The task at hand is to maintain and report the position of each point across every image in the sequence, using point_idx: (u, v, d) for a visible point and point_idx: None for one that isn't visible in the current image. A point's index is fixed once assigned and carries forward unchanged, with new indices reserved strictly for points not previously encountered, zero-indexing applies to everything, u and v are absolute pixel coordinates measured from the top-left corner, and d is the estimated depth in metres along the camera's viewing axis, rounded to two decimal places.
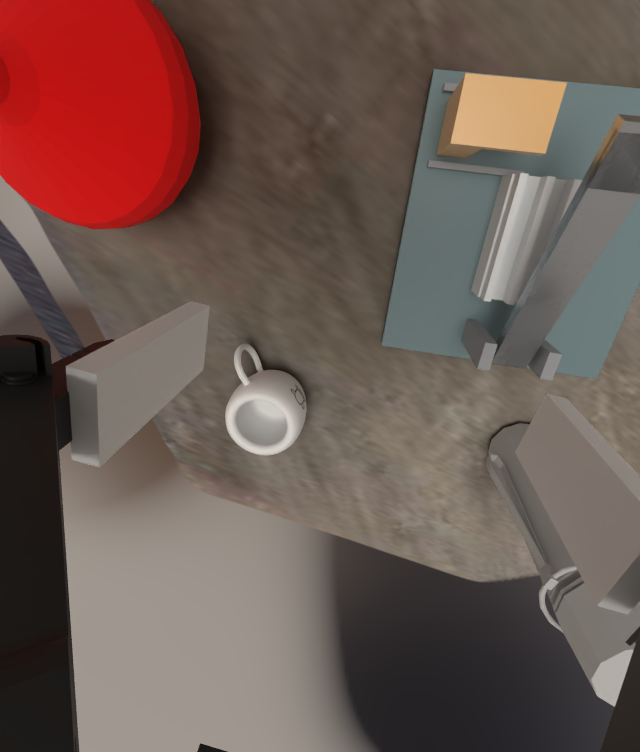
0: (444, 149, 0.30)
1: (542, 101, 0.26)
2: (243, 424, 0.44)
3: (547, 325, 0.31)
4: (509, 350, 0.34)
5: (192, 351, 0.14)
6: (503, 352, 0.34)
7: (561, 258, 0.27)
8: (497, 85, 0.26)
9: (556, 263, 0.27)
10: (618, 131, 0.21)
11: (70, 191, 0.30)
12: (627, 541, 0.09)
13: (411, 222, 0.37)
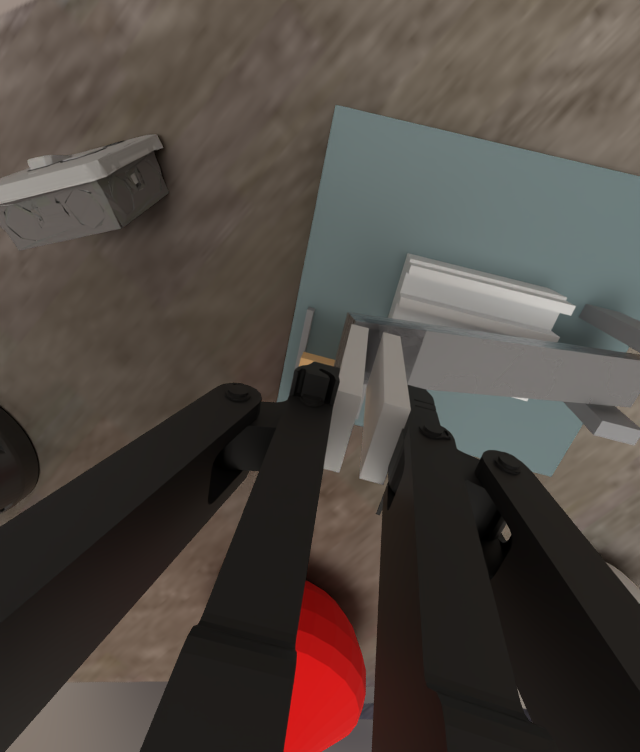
0: None
1: None
2: None
3: (590, 361, 0.21)
4: (616, 392, 0.23)
5: None
6: (617, 398, 0.23)
7: (490, 381, 0.20)
8: None
9: (495, 384, 0.20)
10: None
11: (331, 735, 0.35)
12: (375, 422, 0.12)
13: None
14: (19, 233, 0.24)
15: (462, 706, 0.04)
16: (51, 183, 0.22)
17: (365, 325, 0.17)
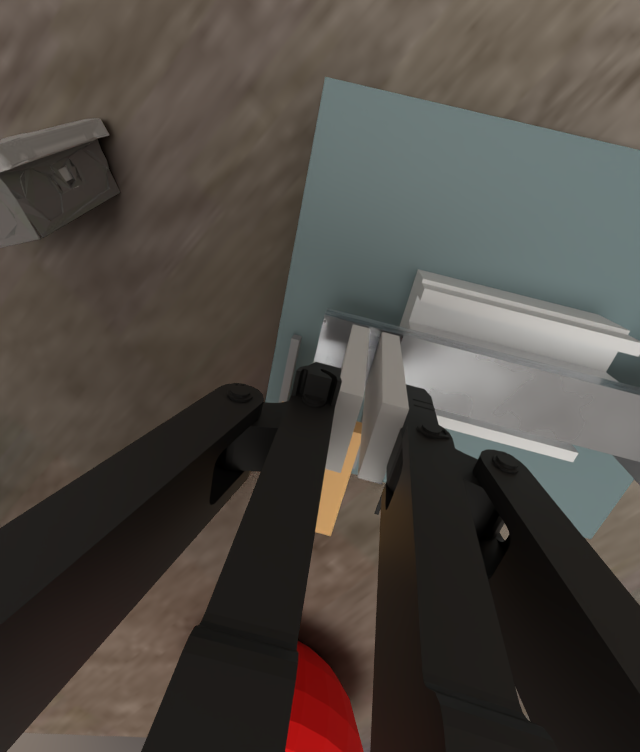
0: None
1: None
2: None
3: None
4: None
5: None
6: None
7: (489, 406, 0.18)
8: None
9: (497, 411, 0.18)
10: None
11: None
12: (373, 422, 0.12)
13: None
14: None
15: (461, 705, 0.04)
16: None
17: (334, 320, 0.17)
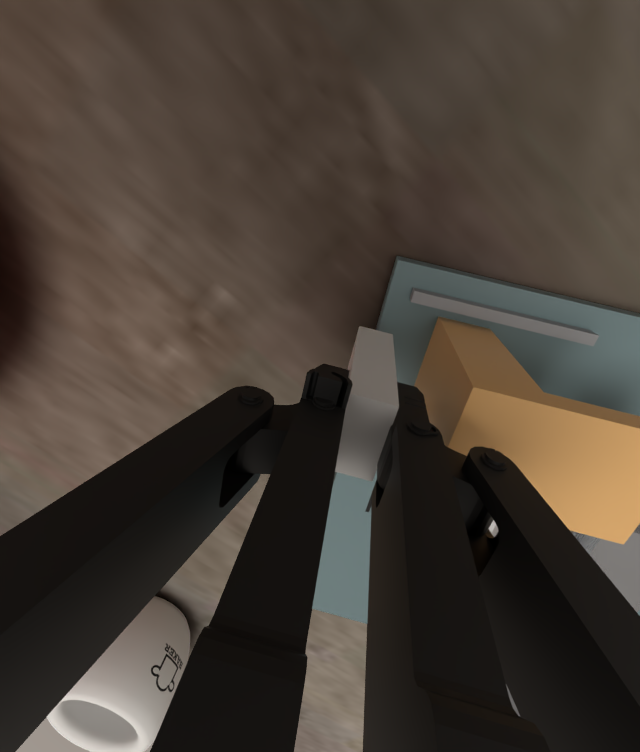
0: None
1: (636, 464, 0.11)
2: None
3: None
4: None
5: None
6: None
7: None
8: (542, 421, 0.11)
9: None
10: None
11: None
12: None
13: None
14: None
15: (451, 703, 0.04)
16: None
17: None
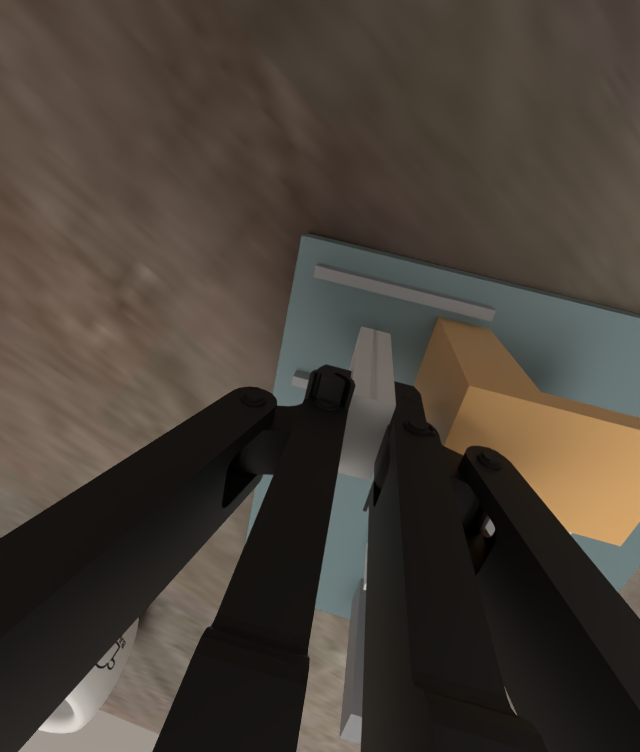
0: None
1: (633, 465, 0.11)
2: None
3: None
4: None
5: None
6: None
7: None
8: (538, 420, 0.11)
9: None
10: None
11: None
12: None
13: None
14: None
15: (450, 703, 0.04)
16: None
17: None
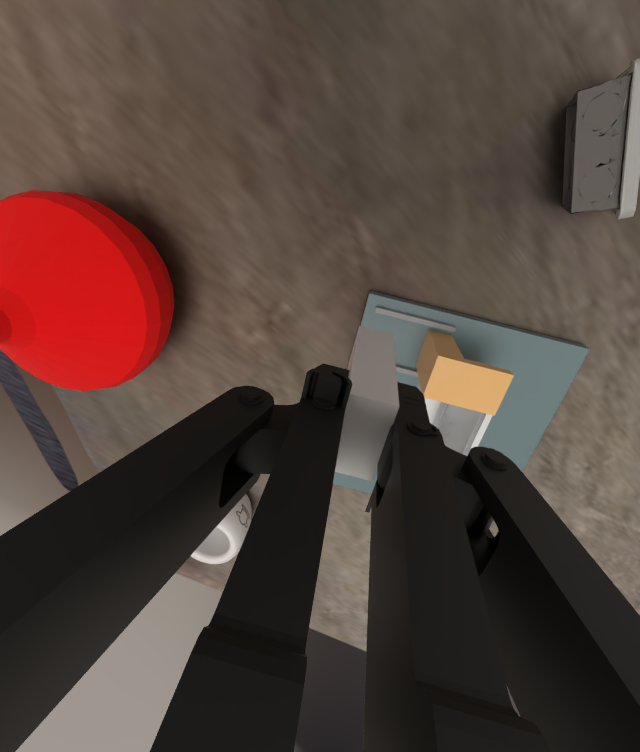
0: (419, 380, 0.37)
1: (494, 383, 0.33)
2: None
3: None
4: None
5: None
6: None
7: None
8: (462, 367, 0.33)
9: None
10: None
11: (55, 375, 0.36)
12: None
13: None
14: (594, 101, 0.26)
15: (452, 704, 0.04)
16: (631, 171, 0.26)
17: None
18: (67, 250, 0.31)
